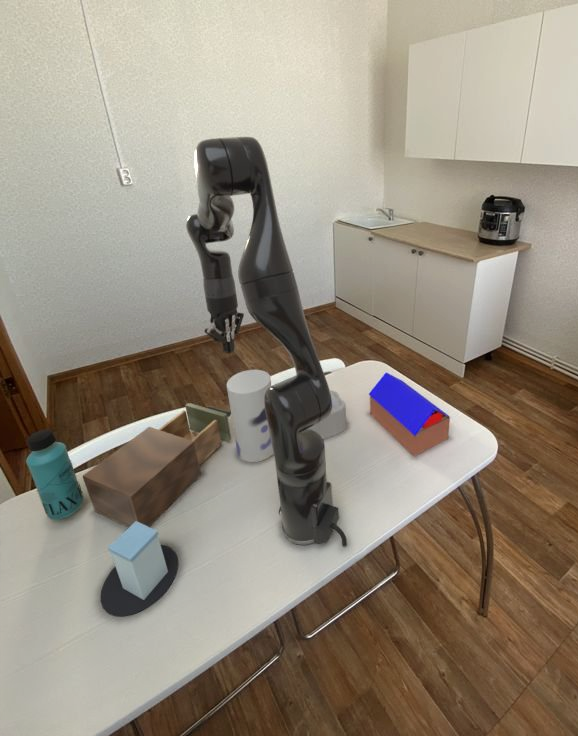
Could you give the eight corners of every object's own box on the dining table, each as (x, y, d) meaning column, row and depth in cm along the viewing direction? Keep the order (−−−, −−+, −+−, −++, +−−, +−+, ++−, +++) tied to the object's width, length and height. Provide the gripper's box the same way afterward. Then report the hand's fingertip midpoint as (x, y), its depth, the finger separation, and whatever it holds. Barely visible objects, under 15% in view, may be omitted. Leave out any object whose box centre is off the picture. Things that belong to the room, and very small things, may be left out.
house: (402, 399, 115) (402, 366, 110) (449, 439, 99) (453, 401, 95) (368, 413, 109) (368, 378, 105) (414, 458, 93) (415, 418, 89)
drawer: (205, 417, 107) (200, 393, 104) (241, 428, 102) (238, 404, 100) (147, 466, 90) (140, 439, 88) (187, 481, 86) (181, 453, 83)
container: (268, 465, 91) (259, 394, 84) (229, 459, 93) (218, 390, 86) (284, 436, 100) (277, 371, 93) (249, 432, 102) (239, 367, 95)
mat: (192, 558, 70) (192, 557, 70) (135, 629, 60) (134, 628, 60) (145, 536, 75) (145, 535, 75) (84, 599, 64) (83, 597, 64)
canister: (169, 571, 68) (157, 531, 65) (143, 601, 64) (130, 559, 60) (148, 560, 70) (136, 520, 66) (122, 588, 65) (107, 547, 62)
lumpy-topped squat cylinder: (350, 430, 102) (349, 403, 99) (303, 446, 97) (301, 418, 94) (335, 408, 111) (333, 383, 108) (291, 422, 106) (289, 395, 103)
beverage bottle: (42, 530, 76) (9, 450, 69) (57, 502, 82) (28, 427, 75) (79, 521, 78) (50, 443, 71) (92, 495, 84) (66, 421, 77)
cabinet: (157, 458, 94) (149, 426, 90) (201, 475, 89) (194, 441, 85) (94, 511, 80) (82, 475, 77) (142, 534, 75) (130, 496, 72)
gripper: (213, 303, 90) (223, 366, 97) (248, 285, 102) (255, 343, 108) (189, 299, 93) (200, 361, 99) (226, 282, 105) (234, 339, 111)
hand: (229, 351), depth 104 cm, fingers closed
